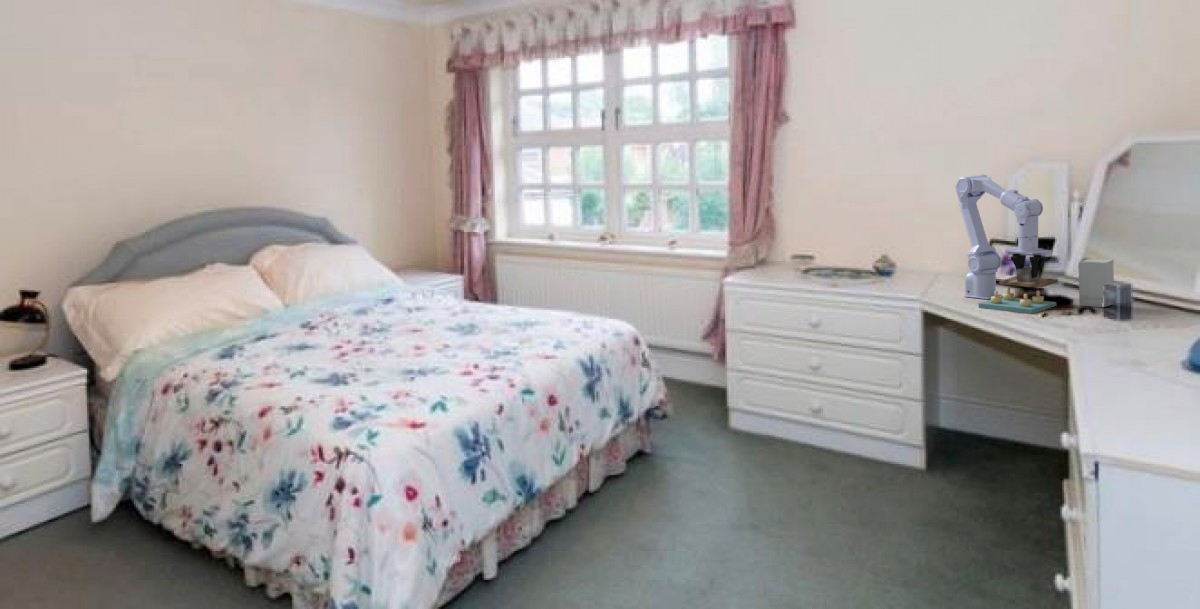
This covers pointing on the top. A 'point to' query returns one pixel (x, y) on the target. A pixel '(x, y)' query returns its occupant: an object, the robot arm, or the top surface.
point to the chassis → (1017, 303)
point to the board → (1029, 284)
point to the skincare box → (1094, 281)
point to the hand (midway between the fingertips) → (1027, 276)
